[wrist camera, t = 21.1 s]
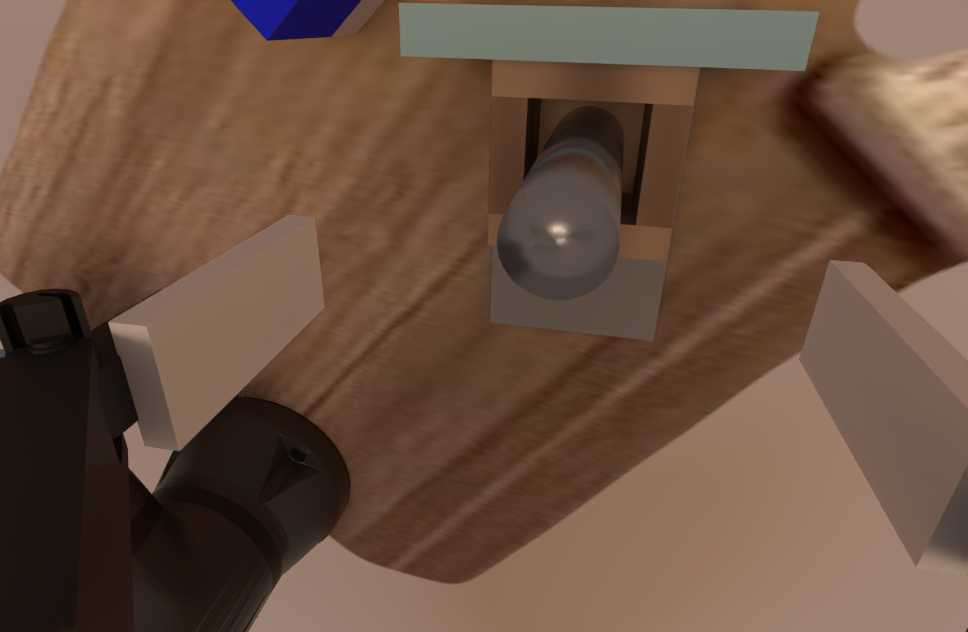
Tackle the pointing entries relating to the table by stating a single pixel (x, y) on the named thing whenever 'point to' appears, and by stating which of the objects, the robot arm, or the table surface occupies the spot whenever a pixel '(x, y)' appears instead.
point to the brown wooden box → (641, 114)
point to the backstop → (608, 40)
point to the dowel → (567, 210)
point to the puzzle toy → (307, 17)
